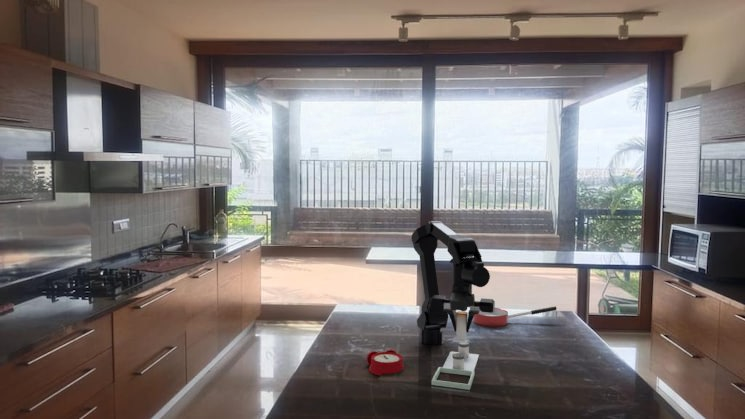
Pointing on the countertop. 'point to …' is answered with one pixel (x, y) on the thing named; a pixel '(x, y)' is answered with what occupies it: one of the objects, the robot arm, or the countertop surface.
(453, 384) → the tray
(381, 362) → the alarm clock
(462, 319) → the cylinder
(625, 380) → the countertop surface
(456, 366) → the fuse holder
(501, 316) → the frying pan
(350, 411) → the countertop surface
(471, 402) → the countertop surface
